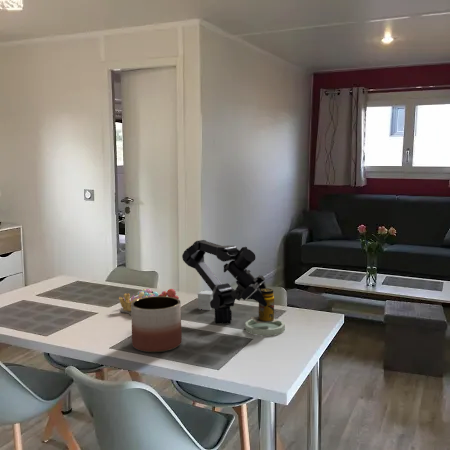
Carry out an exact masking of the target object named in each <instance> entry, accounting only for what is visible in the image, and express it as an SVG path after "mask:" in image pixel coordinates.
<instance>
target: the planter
mask: <svg viewBox="0 0 450 450" xmlns="http://www.w3.org/2000/svg"><path fill="white" fill-rule="evenodd" d="M181 305H182V304H181V300H180V299H176V298H173V297H168V296H153V297H145V298H141V299H138V300H135V301H133V302H132V303H131V315H130V316H131V344H132V347H134V349H136V350H138V351H140V352H144V353H162V352H163V353H164V352H168V351H172V350H174V349H176V348H177V347H179V346H180V345H181V344H182V340H183V338H182V337H183V334H182V311H181V310H182V309H181Z"/></svg>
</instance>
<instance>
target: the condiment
mask: <svg viewBox="0 0 450 450" xmlns="http://www.w3.org/2000/svg"><path fill="white" fill-rule="evenodd" d="M261 292H262V294H263V296H264V298H265V300H266V303H267V306H264V305H262V304H260V303H259V302H258V316H250V319H253V320H254V321H255V322H257V323H265V322H275V321H277V320H276V319H277V318H275V296H274V289H272V288H268V287H266V288H263V289H261Z"/></svg>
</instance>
